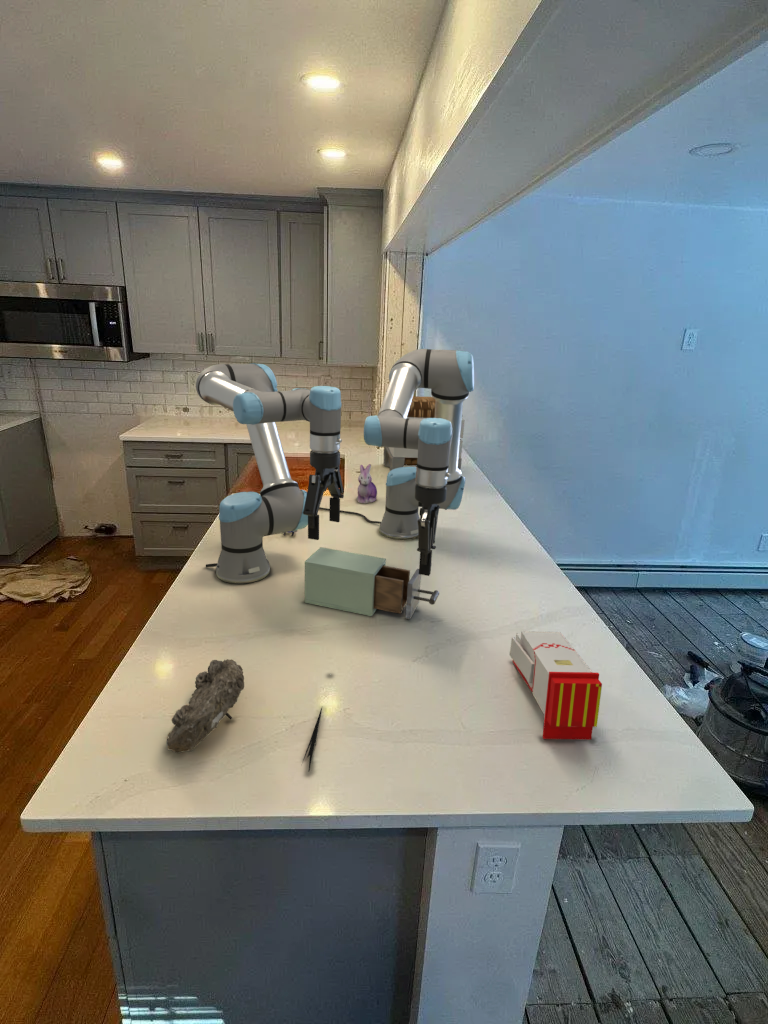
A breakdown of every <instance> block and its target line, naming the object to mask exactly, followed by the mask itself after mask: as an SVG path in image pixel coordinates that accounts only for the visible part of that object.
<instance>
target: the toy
mask: <svg viewBox="0 0 768 1024" xmlns="http://www.w3.org/2000/svg"><path fill="white" fill-rule="evenodd" d="M515 634H516V635H515V637H514V636H512V637H511V639H510V640H511V641H510V649H509V656H510V658H511V661H512V663H513V665H514V666H515V668H516V670H517V671H518V673H519V675H520V676H521V678H522V679H523V681H524V682H525V684H526V686H527V687H528V689H529V690H530V693H532V695H533V697H534V699H535V701H536V703H537V705H538V707H539V708H540V710H541V712H542V714H543V715H544V718H543V727H542V739H543V740H584V741H585V740H588V741H589V740H592V738H593V729H594V728H597V727H598V720H599V713H600V706H601V696H602V689H603V683H602V682H601V680H600V673H599V672H593V671H592V669H591V668H590V667H589V666H588V665H587V663H586V662H585V661H584V659H583V658H582V657H581V656H580V655H579V653H578V652H577V651H576V650H575V648H574V647H573V645H572V644H571V643H570V642H569V641H568V640H567V639H566V637H565V636H564V635H563V634H562V632H561V631H526V630H525V631H524V630H523V631H522V630H521V631H520V632H516V633H515Z"/></svg>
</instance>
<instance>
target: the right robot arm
mask: <svg viewBox="0 0 768 1024" xmlns="http://www.w3.org/2000/svg"><path fill="white" fill-rule="evenodd" d="M474 363H475V361H474V356H473V354H472V353H471V352H469V351H464V350H459V349H436V348H435V349H434V348H433V349H432V348H418V349H414V350H412V351H410V352H407V353H405V354H404V355H402V356H401V357H399V359H398V360H396V361H395V362H394V364H393V365H392V367H391V368H390V371H389V374H388V381H389V384H388V386H387V389H386V391H385V394H384V396H383V399H382V403H381V404H380V408H379V411H378V413H377V415H368V416H366V418H365V420H364V424H363V441H364V443H365V444H366V445H367V446H373V447H378V448H384V447H393V448H406V449H417V450H418V458H417V466H404V467H400V468H396V469H393V470H391V471H390V470H389V472H388V473H387V475H386V482H385V504H384V505H385V507H384V508H385V509H384V513H383V515H382V519H381V521H379V520H370V519H369V518H368V517H366V516H365V515H364V514H363V513H359V512H355V511H349V510H341V509H340V513H343V514H348V515H349V514H350V515H357V516H360V517H362V518H363V519H364V520H365V521H366V522H368V523H371V524H379V526H378V533H379V534H380V535H381V536H382V537H385V538H387V539H389V540H395V541H410V540H415V539H418V540H417V542H418V544H417V546H418V547H417V549H416V551H417V552H419V565H418V569H419V574H420V575H421V576H428V577H430V576H431V572H432V561H433V550H436V548H437V547H436V545H435V544H436V536H437V535H436V534H437V526H438V520H439V519H438V518H439V513H440V510H444V511H448V510H451V511H452V510H453V511H454V510H455V511H456V510H457V509H459V508H460V506H461V502H462V499H463V495H464V489H465V484H466V477H465V476H463V474H462V469H461V470H460V469H459V468H458V456H459V445H460V439H461V438H460V433H461V421H462V419H463V408H464V401H466V400H467V399H468V398H469V396H470V393H471V392H473V391H474V390H475V364H474ZM418 389H429V390H431V391H430V395H431V397H433V398H434V399H435V400H436V402H435V418H426V419H423V420H422V419H409V418H407V416H408V412H409V409H410V405H411V402H412V398H413V396H415V395H414V394H415V391H417V390H418ZM319 510H321V511H328V512H330V508H328V507H321V506H320V507H319Z"/></svg>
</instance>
